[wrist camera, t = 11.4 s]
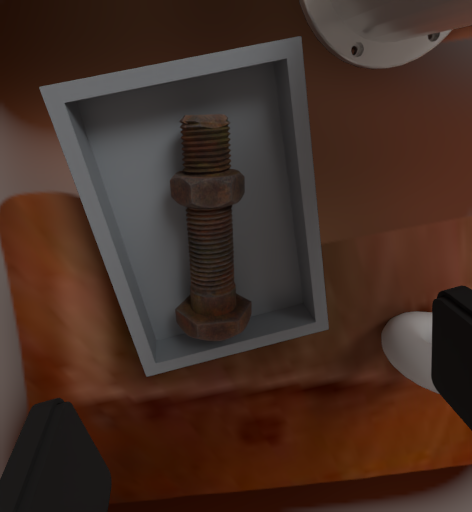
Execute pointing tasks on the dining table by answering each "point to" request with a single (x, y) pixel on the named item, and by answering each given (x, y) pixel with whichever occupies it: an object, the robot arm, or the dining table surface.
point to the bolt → (210, 229)
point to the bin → (174, 215)
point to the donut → (410, 346)
